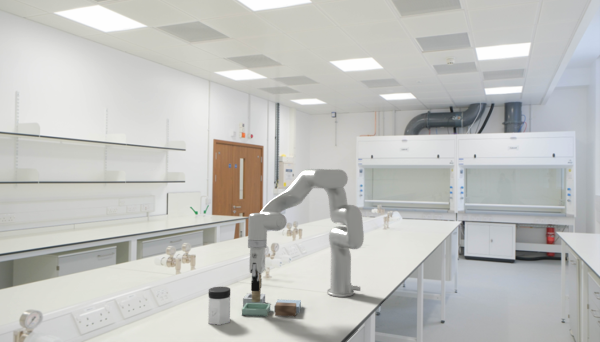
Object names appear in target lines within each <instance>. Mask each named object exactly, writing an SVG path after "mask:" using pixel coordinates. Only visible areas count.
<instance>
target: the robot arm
mask: <svg viewBox="0 0 600 342" xmlns="http://www.w3.org/2000/svg"><path fill="white" fill-rule="evenodd" d="M348 178H349V176H348V174H347V173H346V171H344V170H343V169H339V168H338V169H332V168H331V169H327V168H324V169H323V168H311V169H310V168H307V169H304V170H302V171H301V172H300V173H299V175H298V176H296V178H295V179H294V180H293V181H292V183H291V184H290V185H289V186H288V188H287V189H286V190H284V191H283V192H281V193H279V194H278V195H277V196H275V197H273V198H272V199H271V200H270V201H268V203H266V205H265V206H264V207H263V208H262V209H261V210H260V212H253V213H250V214H248V222H247V224H248V226H247V228H248V229H247V230H248V232H247V248H248V249H249V265H248V266H249V269H248V270H249V273H250V274H251V280H250V282H251V284H250V285H251V287H250V290H251V292H252V291H259V286H260V281H259V273H260V274H261V275H262V274H263V273H264V272H265V270H266V248H267V247H268V246H267V245H268V243H267V238H268V231H275V232H278V231H282V230H283V229H285V228H286V226H287V222H288V221H287V218H286V216H285V215H284V214H283V213H282V212H283V211H286V210H287V209H290V208H293V207H297V206H299V205H300V204H301V203H302V202H303V201H304V200H305V199H306V197H307V196H308V195H309V194H310V193H311V191H313V189H323V190H324V191H325V192H326V195H327V197H328V205H329V206H328V207H329V216H330V221H331V222H333V224H337V225H339V226H333V228H331V229H330V231H329V233H328V242H329V247H330V288H328V289H327V290H326V294H328V295H330V296H333V297H338V298H345V297H346V298H348V297H353V296H354V294H355V291H358V292H361V286H358V285H352V282H351V281H352V278H351V277H352V275H351V274H352V254H351V251H350V250H358V249H361V247H362V246H363V244H364V239H365V235H364V223H363V214H362V211H361V209H360V208H359V207H358V206H356V205H354V204H348V198H347V193H346V190H345V188H344V187H346V185H347V183H348V180H349V179H348ZM341 225H342V226H341ZM256 272H258V273H256ZM261 282H263V281H262V277H261Z"/></svg>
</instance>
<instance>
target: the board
mask: <svg viewBox="0 0 600 342" xmlns="http://www.w3.org/2000/svg"><path fill="white" fill-rule="evenodd" d="M277 302H281V303H296V314H300V311H301V306H302V301H301V299H277V300H276V302H275V304H274V308H273V309H274V311H273V312H274V313H275V305H276V303H277Z"/></svg>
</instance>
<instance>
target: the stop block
mask: <svg viewBox="0 0 600 342" xmlns="http://www.w3.org/2000/svg"><path fill="white" fill-rule="evenodd" d="M276 302H277V301H276ZM276 302H275V304H276V305H275V304H274V306H275V312H274V316H276V317H279V316H280V317H281V316H282V317H296V316H297V313H296V303H281V302H277V303H276Z"/></svg>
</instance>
